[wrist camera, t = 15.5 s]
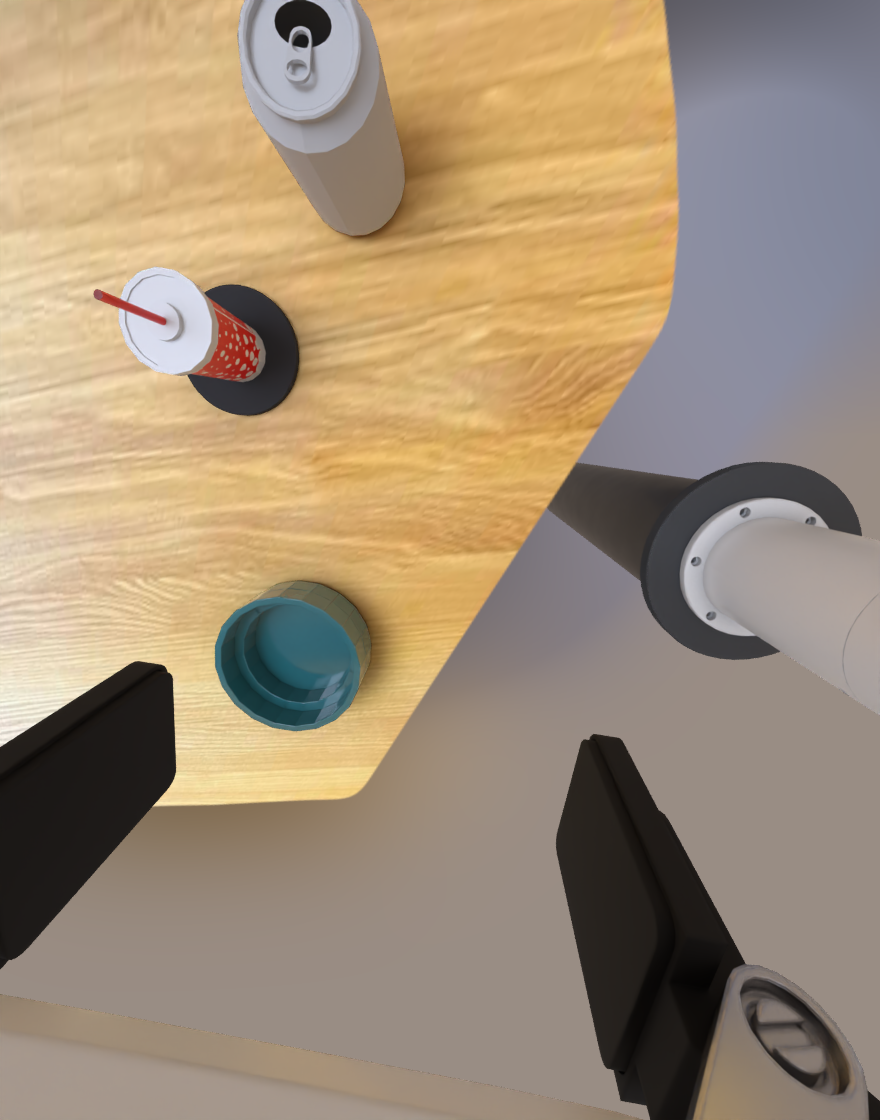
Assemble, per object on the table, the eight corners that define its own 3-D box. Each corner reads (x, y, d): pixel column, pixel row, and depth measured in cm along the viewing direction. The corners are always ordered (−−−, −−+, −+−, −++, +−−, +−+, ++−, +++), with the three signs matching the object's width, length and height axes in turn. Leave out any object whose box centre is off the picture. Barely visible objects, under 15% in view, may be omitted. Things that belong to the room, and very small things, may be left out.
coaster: (301, 295, 34) (299, 292, 34) (296, 422, 37) (293, 422, 37) (182, 279, 35) (177, 276, 34) (185, 407, 37) (181, 406, 37)
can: (412, 130, 31) (379, -57, 20) (401, 247, 33) (365, 140, 22) (312, 117, 31) (222, -75, 20) (307, 234, 33) (222, 122, 22)
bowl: (377, 590, 41) (365, 609, 36) (366, 708, 44) (353, 740, 39) (243, 570, 41) (214, 587, 36) (242, 689, 44) (215, 719, 40)
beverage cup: (189, 332, 35) (16, 260, 22) (252, 298, 34) (111, 201, 21) (226, 403, 36) (85, 378, 23) (287, 373, 35) (177, 327, 22)
